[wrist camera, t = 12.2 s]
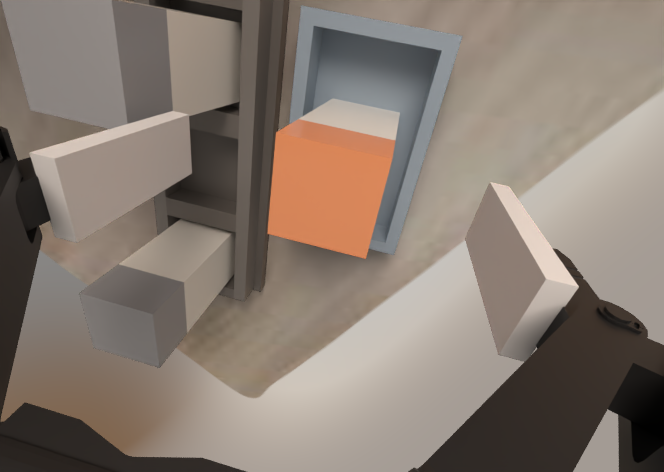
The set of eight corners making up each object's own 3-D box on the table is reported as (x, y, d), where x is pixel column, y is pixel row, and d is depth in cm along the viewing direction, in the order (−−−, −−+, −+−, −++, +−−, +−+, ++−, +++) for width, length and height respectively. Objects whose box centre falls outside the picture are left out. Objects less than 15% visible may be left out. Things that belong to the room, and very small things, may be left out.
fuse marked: (332, 98, 22) (276, 132, 13) (400, 112, 22) (392, 158, 12) (322, 163, 25) (267, 233, 15) (383, 177, 24) (365, 258, 15)
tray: (315, 11, 21) (301, 5, 18) (455, 38, 20) (462, 36, 17) (291, 209, 28) (278, 226, 25) (395, 234, 27) (393, 255, 24)
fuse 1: (178, 10, 21) (-6, -24, 12) (246, 23, 21) (111, -1, 11) (182, 86, 24) (29, 110, 14) (243, 100, 23) (128, 133, 14)
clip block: (153, -30, 21) (118, -40, 19) (289, -4, 21) (272, -12, 18) (175, 261, 33) (155, 279, 30) (264, 285, 32) (251, 305, 29)
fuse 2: (188, 212, 29) (78, 293, 19) (239, 225, 28) (152, 314, 19) (191, 256, 31) (93, 347, 21) (237, 269, 30) (159, 367, 21)
